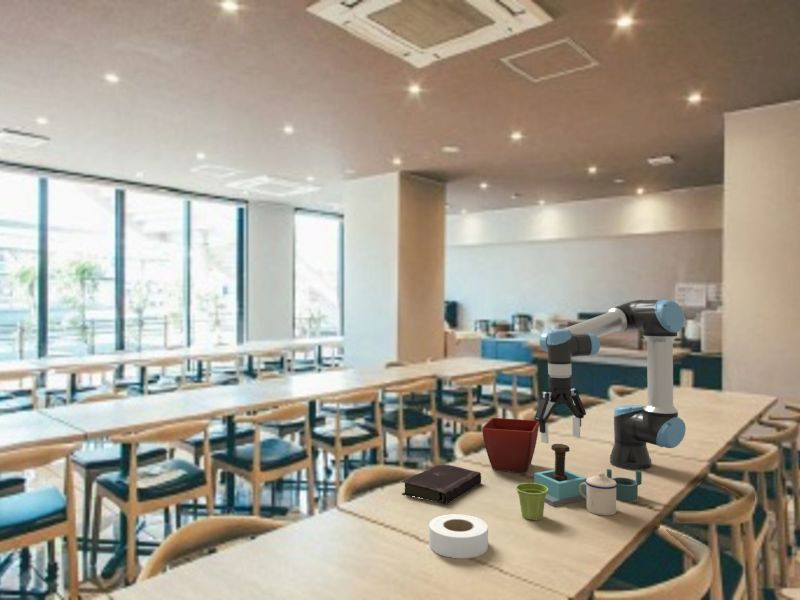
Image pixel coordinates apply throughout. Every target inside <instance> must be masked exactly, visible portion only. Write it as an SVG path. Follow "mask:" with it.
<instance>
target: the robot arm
mask: <svg viewBox="0 0 800 600" xmlns="http://www.w3.org/2000/svg"><path fill="white" fill-rule="evenodd" d="M684 325H685V314H684V311H683V309H682V307H681V306H680V305H679V303H677V302H676V301H675V300H669V299H637V300H633V301H632V300H631V301H629V302H624V303H623V304H620V305H617V306H615V307H612V308H610V309H608V311H607V312H606V313H603V314H600V315H597V316H595V317H592V318H589V319H587V320H584V321H581V322H578V323H576V324H573V325H570V326H567V327H565V328H561V329H560V328H559V329H555V328H554V329H550V330H548V331H545V332H543V333H541V335H540V336H539V342H538V343H539V347H540V348H541V350H543V352H547V371H548V372H547V374H548V375H549V376H548V380H547V381H548V384H547V385H548V388H549V392H547V391H542V392H541V397H540V402H539V404H538V406H537V409H536V412H535V415H534V418H533V420H534V421H538V422H539V432H540V437H541V438H540V439H541V440H540V441H541V442H542V443H545V444H549V441H550V440H549V423H548V420H549V418H550V416H551V415H552V414H553V411H554V410H555V408H556V407H558V406H559V405H560V406H561V405H562V404H563V405H566V407H567V408H568V409H569V410H570V412H571V413H572V414H573V416H572V437H575V438H578V439H580V438H581V427H582V419H584V416H587V411H586V409H585V407H584V405H583V401H582V400H581V397H580V395H579V394H580V393H579V389H578V388H573V387H572V386H573V385H572V384H573V383H572V380H573V378H572V375H573V374H572V371H573V370H572V358H575V357H590V356H594V355H596V354H598V353H599V351H600V349H601V342H600V339H599V338H601V337H603V336H606V335H609V334H611V333H613V332H617V333H621V332H624V331H628V330H631V331H632V330H633V331H642V337H643V338H644V339H645V340H646V352H647V353H646V355H647V356H646V359H647V361H646V362H647V363H646V364H647V365H646V366H647V369H646V370H647V371H646V373H647V379H646V380H647V403H646V405H643V404H628V405H627V404H624V405H617V406H616V407H615V409H614V415H613V425H614V426H613V429H614V430H613V431H614V432H613V433H614V435H613V437H614V444H613V447H612V449H611V454H610V455H609V463H610V465H612V466H614V467H616V468H621V469H624V470H625V469H626V470H634V471H636V470H641V471H643V470H648V469H651V468H652V459H651V457H650V453H649V451H648V450H649V449H648V447H647V444H651V445H654V446H657V447H660V448H666V449H674V448H676V447H677V446H680V444H681V442H683V440H684V438H685V435H686V428H687V427H686V423H685V422H684V420H683V419H682V418H681V417H680V416H679V410H678V409H677V408H676V407H675V406H674V365H673V364H674V348H673V347H674V346H673V342H674V340H675V339H677V337H678V332H680V331H681V330H682V329H683V326H684Z"/></svg>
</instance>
